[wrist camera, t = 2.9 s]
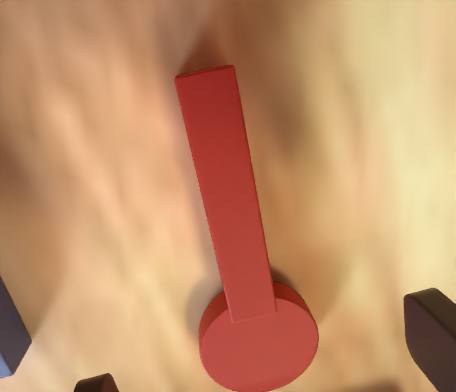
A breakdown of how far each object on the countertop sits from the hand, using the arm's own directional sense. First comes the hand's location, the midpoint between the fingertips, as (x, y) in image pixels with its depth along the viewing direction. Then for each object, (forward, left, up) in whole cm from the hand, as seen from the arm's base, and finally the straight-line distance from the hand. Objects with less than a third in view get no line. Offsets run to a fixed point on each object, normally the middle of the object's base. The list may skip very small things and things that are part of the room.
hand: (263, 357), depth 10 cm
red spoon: (-1, 0, -5) cm, 5 cm away
